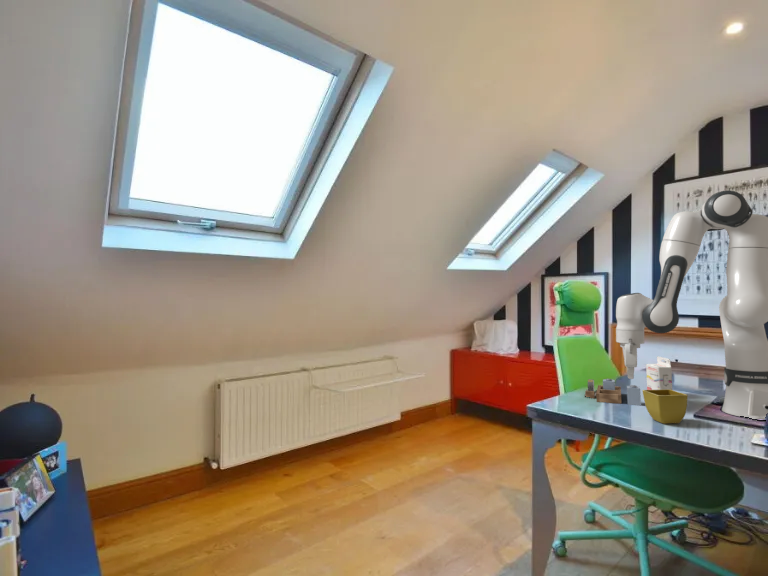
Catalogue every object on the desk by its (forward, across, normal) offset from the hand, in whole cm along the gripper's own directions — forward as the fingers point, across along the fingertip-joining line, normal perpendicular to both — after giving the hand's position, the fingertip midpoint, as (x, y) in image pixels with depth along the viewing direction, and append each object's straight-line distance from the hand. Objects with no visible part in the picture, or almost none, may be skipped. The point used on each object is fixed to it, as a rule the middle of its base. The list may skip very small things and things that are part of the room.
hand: (630, 376), depth 153 cm
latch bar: (+10, +13, +13) cm, 22 cm away
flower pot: (+10, -21, -9) cm, 25 cm away
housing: (+10, +8, +9) cm, 16 cm away
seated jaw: (+10, +11, +7) cm, 16 cm away
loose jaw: (+10, 0, -1) cm, 10 cm away
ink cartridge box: (+10, +18, -10) cm, 23 cm away
